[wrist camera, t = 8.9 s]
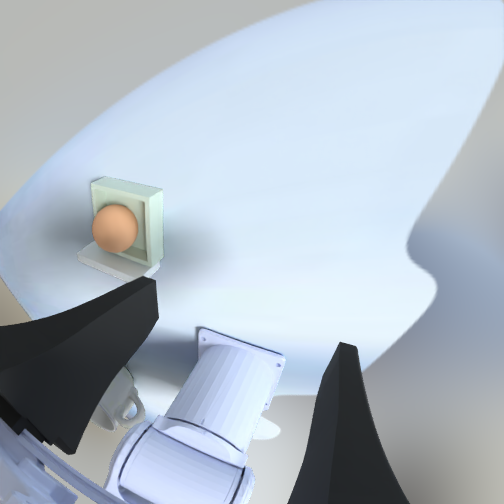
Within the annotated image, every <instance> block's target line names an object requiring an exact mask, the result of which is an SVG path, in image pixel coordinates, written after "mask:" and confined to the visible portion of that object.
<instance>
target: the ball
mask: <svg viewBox="0 0 504 504" xmlns="http://www.w3.org/2000/svg"><path fill="white" fill-rule="evenodd" d="M92 234H93V237H94V240H95V242H96V243H97V244H98V246H99V247H101V248H102V249H103V250H105V251H107V252H112V253H118V252H122V251H125V250H126V249H128V248H129V247H130V246H131V245H132V244H133V243H134V241H135V240H136V237H137V234H138V222H137V219H136V217H135V215H134V213H133V212H132V211H131V210H130V209H128V208H127V207H125V206H123V205H118V204H113V205H108V206H106V207H104V208H103V209H101V210H100V211H99V212H98V213H97V215H96V216H95V218H94V220H93V224H92Z"/></svg>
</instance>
